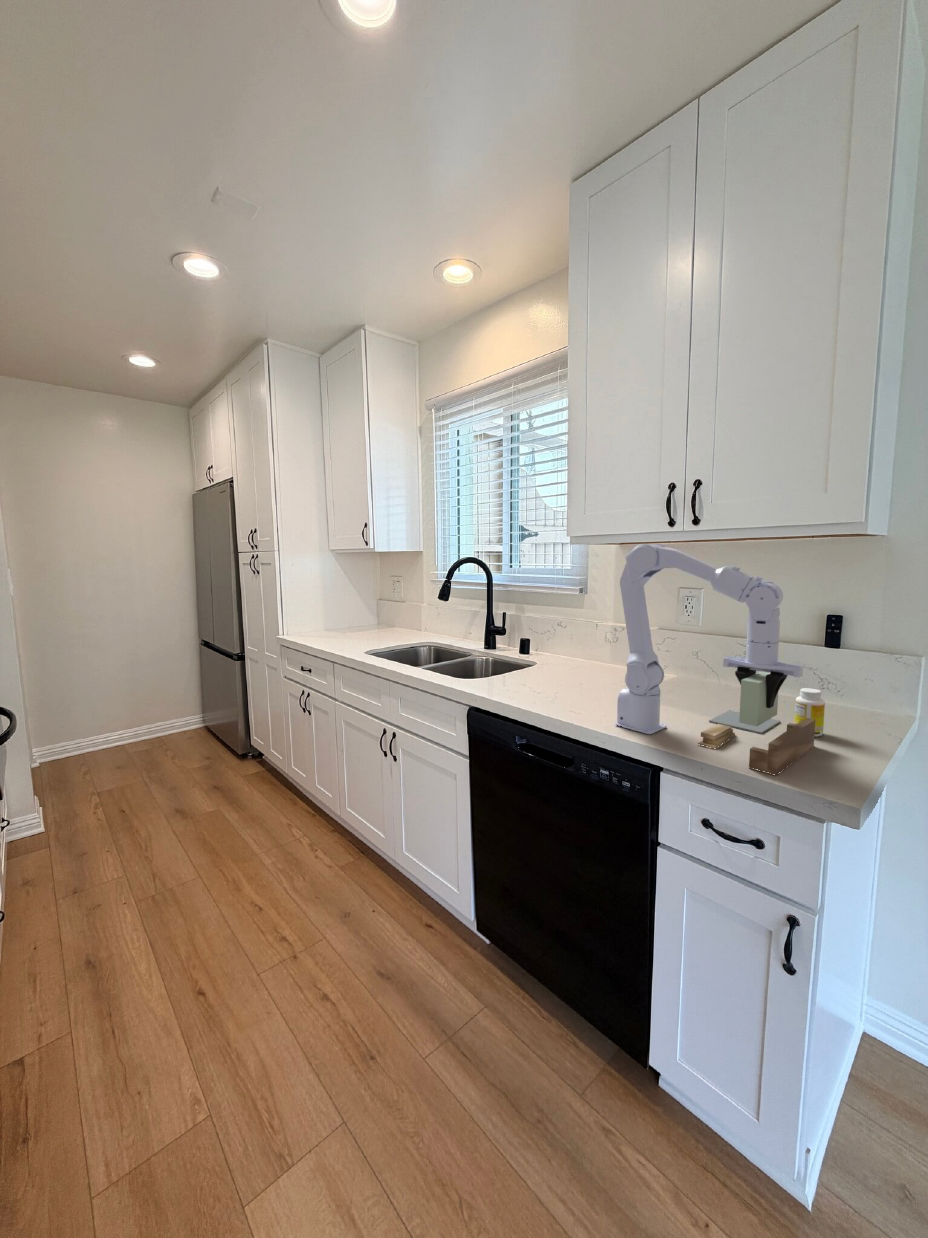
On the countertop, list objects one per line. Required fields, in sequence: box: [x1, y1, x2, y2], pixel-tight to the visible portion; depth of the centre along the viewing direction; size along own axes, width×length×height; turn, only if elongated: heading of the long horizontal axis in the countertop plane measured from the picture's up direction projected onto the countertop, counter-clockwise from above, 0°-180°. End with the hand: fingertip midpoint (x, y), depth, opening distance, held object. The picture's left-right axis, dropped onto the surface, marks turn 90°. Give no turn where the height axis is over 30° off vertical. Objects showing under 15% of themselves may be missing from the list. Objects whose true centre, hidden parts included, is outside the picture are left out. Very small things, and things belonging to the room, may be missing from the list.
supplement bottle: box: [793, 687, 826, 738], centre depth 117 cm, size 6×6×10 cm
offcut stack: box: [697, 724, 736, 749], centre depth 114 cm, size 4×12×3 cm, turn 134°
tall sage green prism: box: [739, 671, 779, 726], centre depth 107 cm, size 3×11×9 cm, turn 130°
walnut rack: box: [748, 718, 815, 776], centre depth 104 cm, size 5×22×6 cm, turn 130°
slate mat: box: [708, 710, 781, 735], centre depth 126 cm, size 12×12×1 cm
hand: (759, 705), depth 107 cm, fingers closed on tall sage green prism, 3 cm apart
